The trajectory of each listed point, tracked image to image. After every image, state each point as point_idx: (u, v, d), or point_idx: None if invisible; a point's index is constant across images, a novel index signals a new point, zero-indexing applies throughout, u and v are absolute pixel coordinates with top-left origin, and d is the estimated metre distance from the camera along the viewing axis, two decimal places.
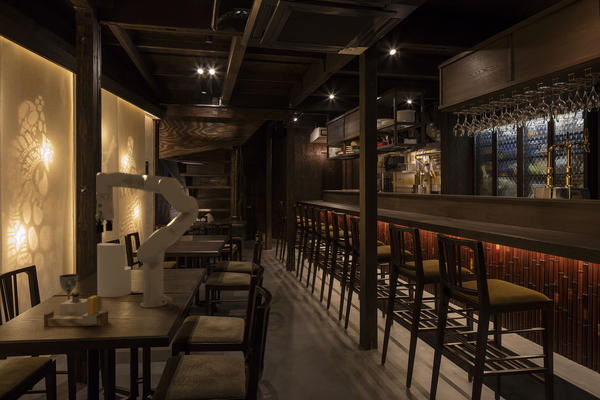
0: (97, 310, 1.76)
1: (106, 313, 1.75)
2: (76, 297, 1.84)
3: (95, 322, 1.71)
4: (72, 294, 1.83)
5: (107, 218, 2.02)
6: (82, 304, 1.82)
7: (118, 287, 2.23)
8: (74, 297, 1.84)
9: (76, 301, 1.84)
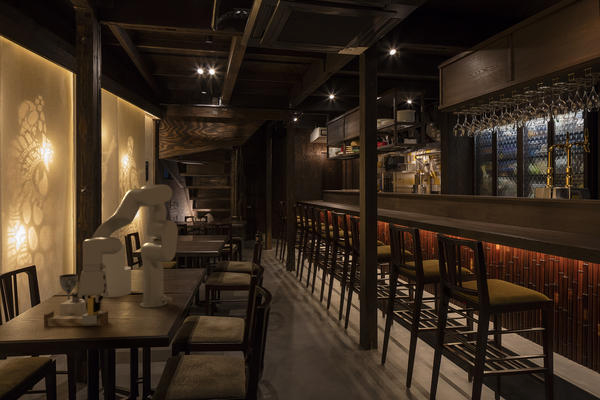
0: None
1: (106, 313, 1.75)
2: (76, 297, 1.84)
3: (95, 322, 1.71)
4: (72, 294, 1.83)
5: None
6: (82, 304, 1.82)
7: (118, 287, 2.23)
8: (74, 297, 1.84)
9: (76, 301, 1.84)
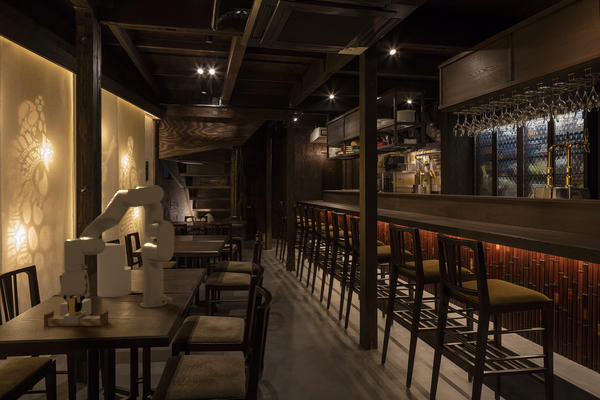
0: None
1: (106, 313, 1.75)
2: None
3: (76, 322, 1.71)
4: None
5: None
6: (82, 304, 1.82)
7: (118, 287, 2.23)
8: None
9: None
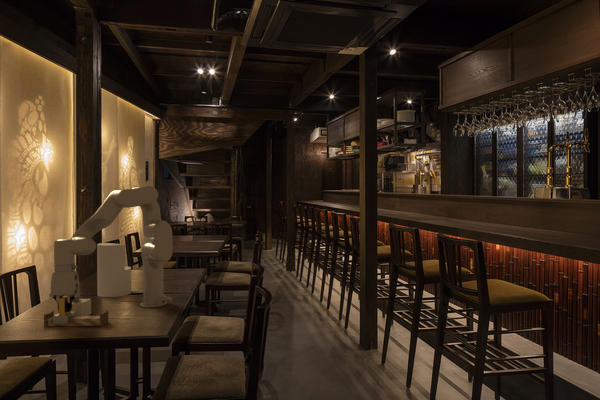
0: None
1: (106, 313, 1.75)
2: (76, 297, 1.84)
3: (66, 322, 1.71)
4: None
5: None
6: (82, 304, 1.82)
7: (118, 287, 2.23)
8: None
9: (76, 301, 1.84)
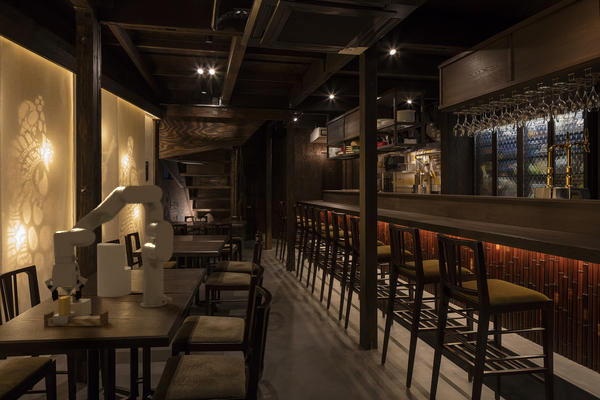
0: (69, 310, 1.75)
1: (106, 313, 1.75)
2: None
3: (66, 322, 1.71)
4: (72, 294, 1.83)
5: None
6: (82, 304, 1.82)
7: (118, 287, 2.23)
8: (74, 297, 1.84)
9: (76, 301, 1.84)
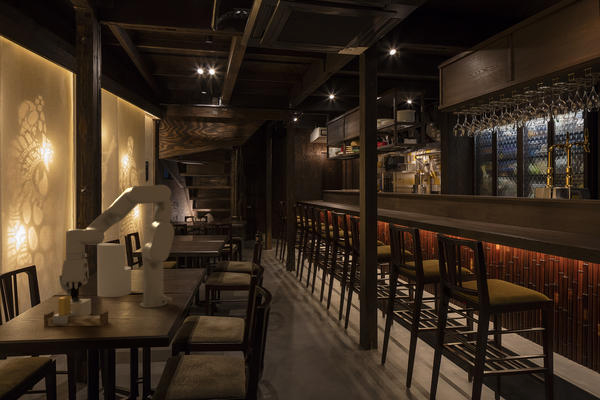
0: (69, 310, 1.75)
1: (106, 313, 1.75)
2: (76, 301, 1.84)
3: (66, 322, 1.71)
4: (72, 298, 1.83)
5: None
6: (82, 304, 1.82)
7: (118, 287, 2.23)
8: (74, 301, 1.84)
9: None
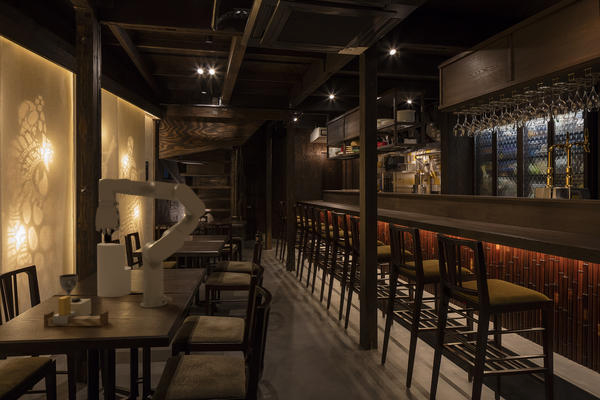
0: (69, 310, 1.75)
1: (106, 313, 1.75)
2: None
3: (66, 322, 1.71)
4: (72, 300, 1.83)
5: None
6: (82, 304, 1.82)
7: (118, 287, 2.23)
8: None
9: None
